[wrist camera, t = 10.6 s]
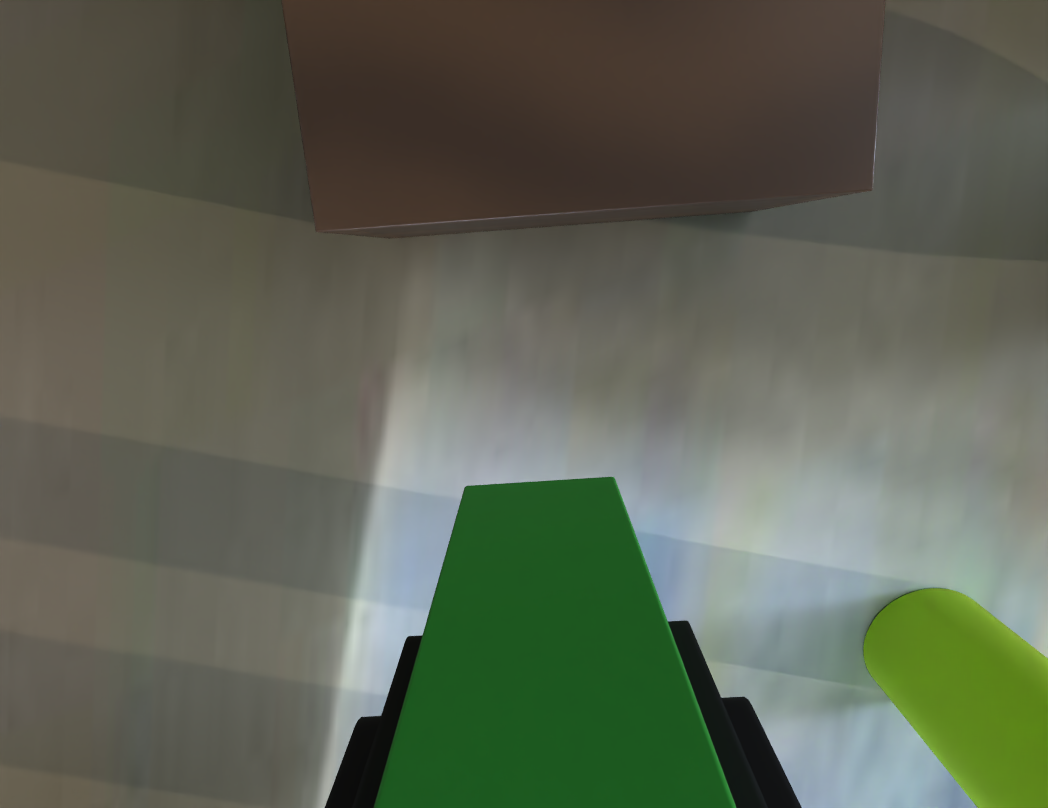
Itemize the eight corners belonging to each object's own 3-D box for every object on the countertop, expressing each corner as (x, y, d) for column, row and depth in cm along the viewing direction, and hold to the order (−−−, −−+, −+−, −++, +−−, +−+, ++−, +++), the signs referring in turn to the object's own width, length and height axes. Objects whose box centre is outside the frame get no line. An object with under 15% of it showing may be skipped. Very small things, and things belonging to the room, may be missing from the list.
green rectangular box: (463, 484, 14) (355, 859, 5) (614, 475, 14) (752, 841, 5) (482, 669, 15) (419, 1220, 7) (622, 662, 15) (742, 1211, 7)
